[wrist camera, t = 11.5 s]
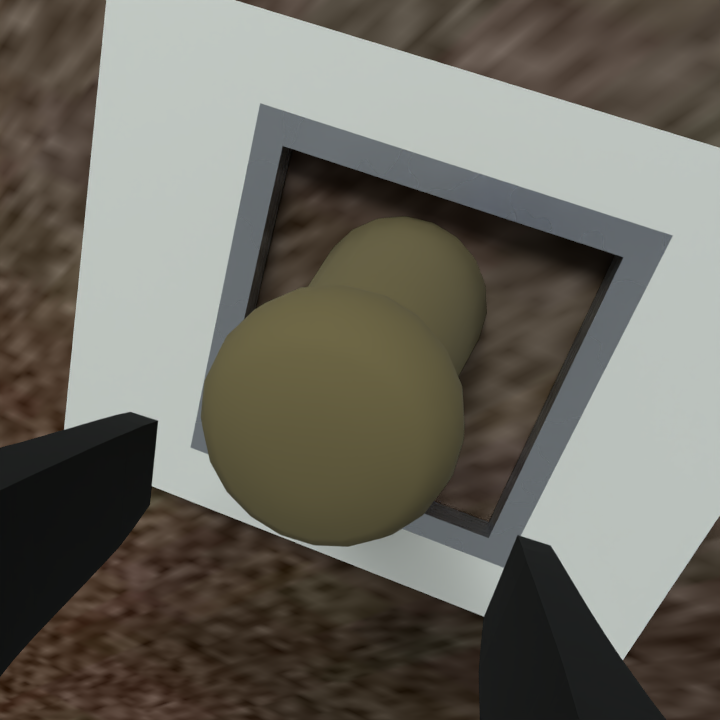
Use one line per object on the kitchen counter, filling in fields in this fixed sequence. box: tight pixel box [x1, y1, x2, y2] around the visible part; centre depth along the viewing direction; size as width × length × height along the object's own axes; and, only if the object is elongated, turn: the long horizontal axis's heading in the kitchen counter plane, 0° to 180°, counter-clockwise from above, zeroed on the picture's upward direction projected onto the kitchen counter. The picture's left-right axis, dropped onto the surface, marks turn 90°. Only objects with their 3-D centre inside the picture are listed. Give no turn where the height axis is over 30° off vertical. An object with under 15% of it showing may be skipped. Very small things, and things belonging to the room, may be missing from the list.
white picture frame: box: [64, 0, 720, 660], centre depth 20 cm, size 24×18×1 cm
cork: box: [201, 216, 487, 547], centre depth 15 cm, size 6×6×11 cm
